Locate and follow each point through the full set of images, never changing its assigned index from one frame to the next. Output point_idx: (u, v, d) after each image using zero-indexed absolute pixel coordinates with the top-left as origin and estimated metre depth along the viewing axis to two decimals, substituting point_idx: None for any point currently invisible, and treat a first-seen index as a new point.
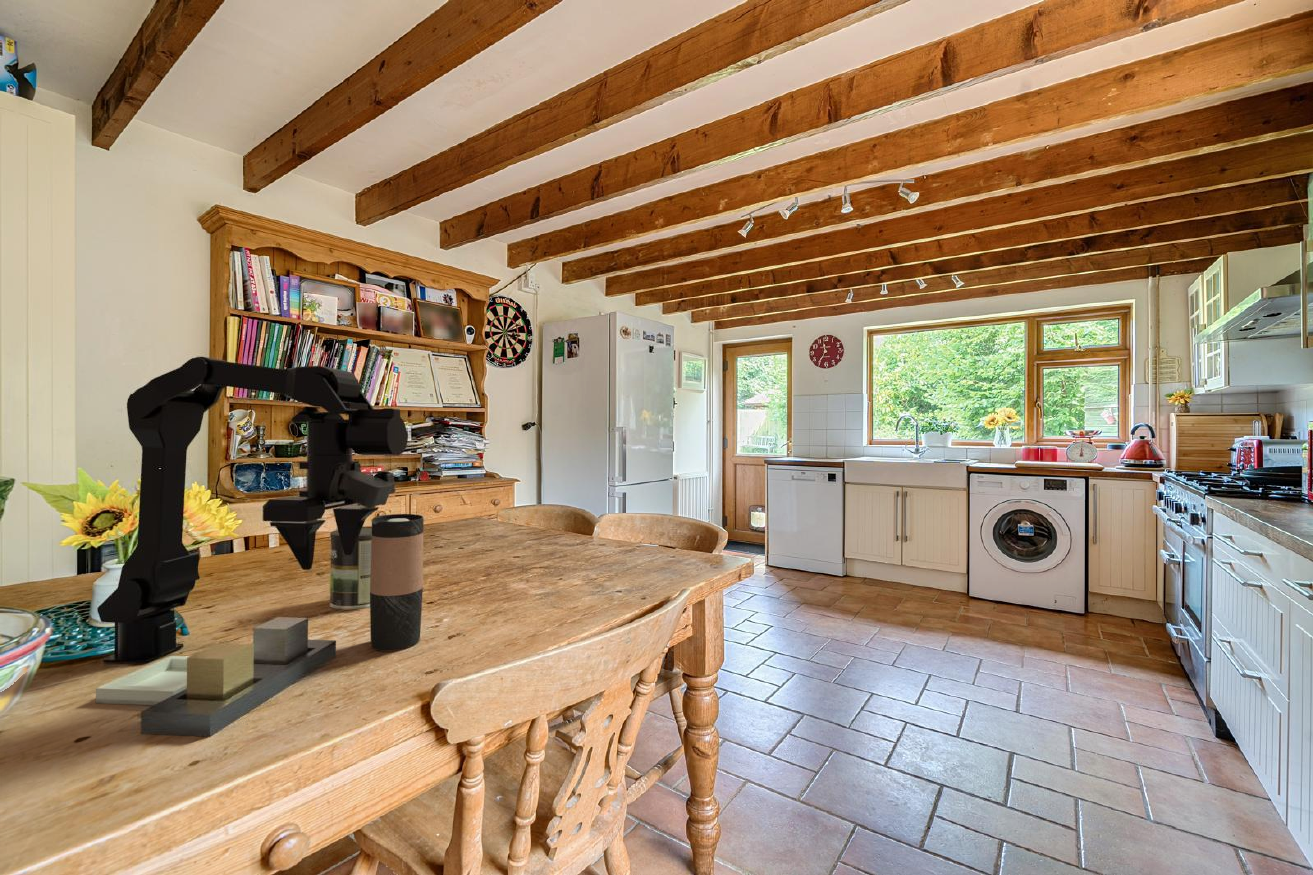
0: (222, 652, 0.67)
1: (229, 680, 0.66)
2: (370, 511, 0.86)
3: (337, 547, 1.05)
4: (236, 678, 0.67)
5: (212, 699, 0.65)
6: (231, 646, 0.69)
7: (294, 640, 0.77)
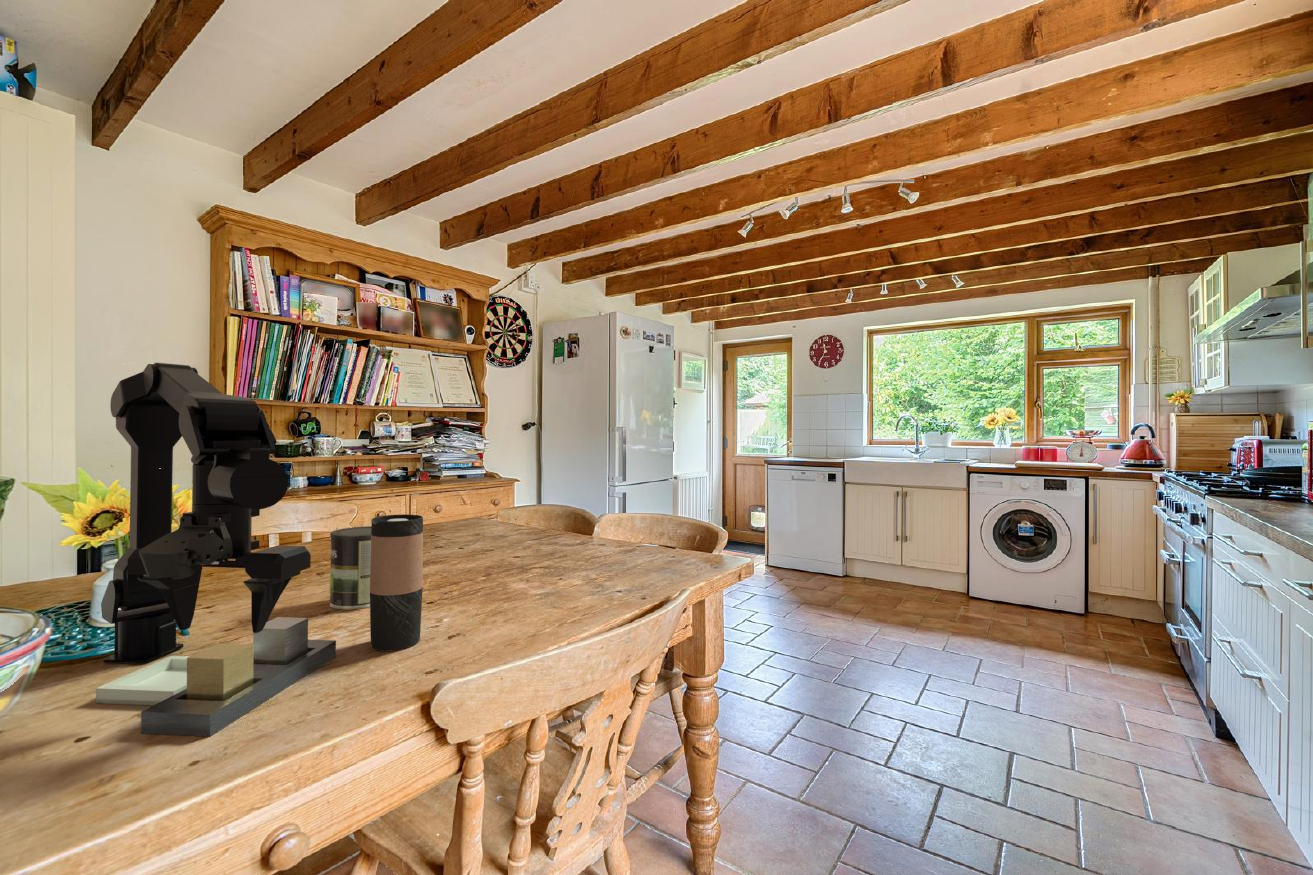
0: (222, 652, 0.67)
1: (229, 680, 0.66)
2: (248, 584, 0.64)
3: (337, 547, 1.05)
4: (236, 678, 0.67)
5: (212, 699, 0.65)
6: (231, 646, 0.69)
7: (294, 640, 0.77)
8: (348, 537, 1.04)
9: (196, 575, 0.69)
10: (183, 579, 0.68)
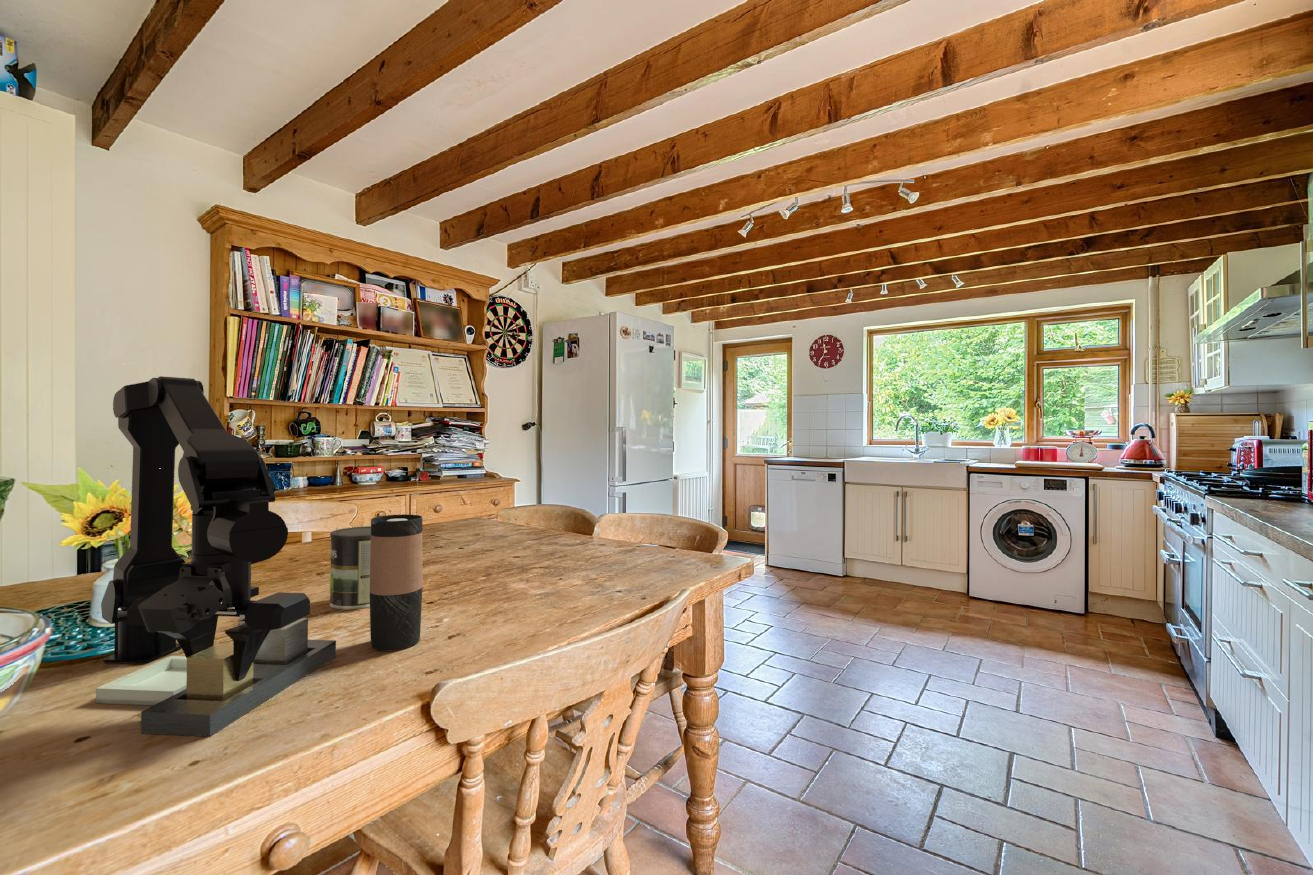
0: (222, 651, 0.67)
1: (229, 680, 0.66)
2: (230, 634, 0.64)
3: (337, 547, 1.05)
4: None
5: (212, 699, 0.65)
6: (231, 646, 0.69)
7: (294, 640, 0.77)
8: (348, 537, 1.04)
9: (212, 623, 0.69)
10: (200, 628, 0.67)
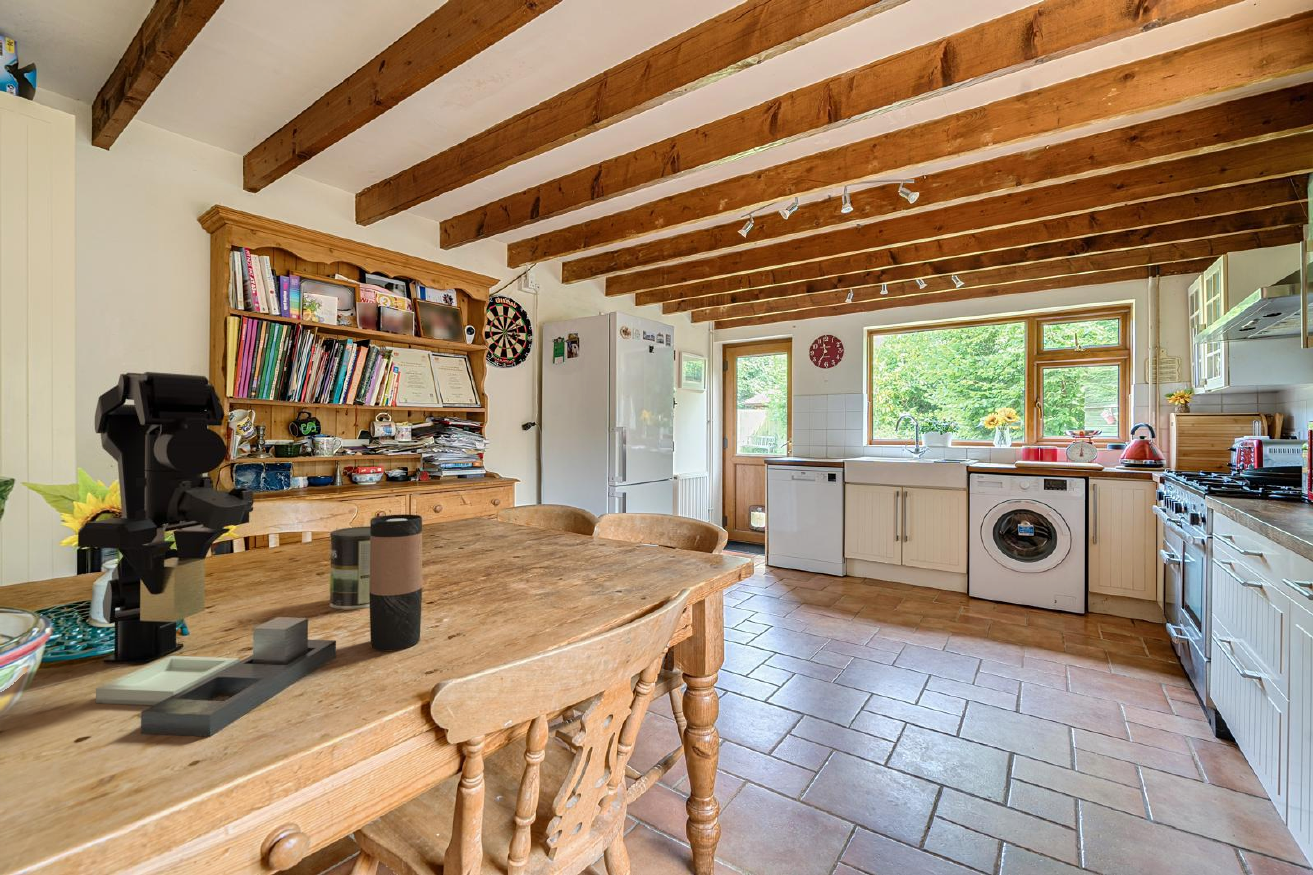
0: (178, 561, 0.73)
1: None
2: (216, 534, 0.76)
3: (337, 547, 1.05)
4: None
5: (196, 596, 0.74)
6: None
7: (294, 640, 0.77)
8: (348, 537, 1.04)
9: None
10: None
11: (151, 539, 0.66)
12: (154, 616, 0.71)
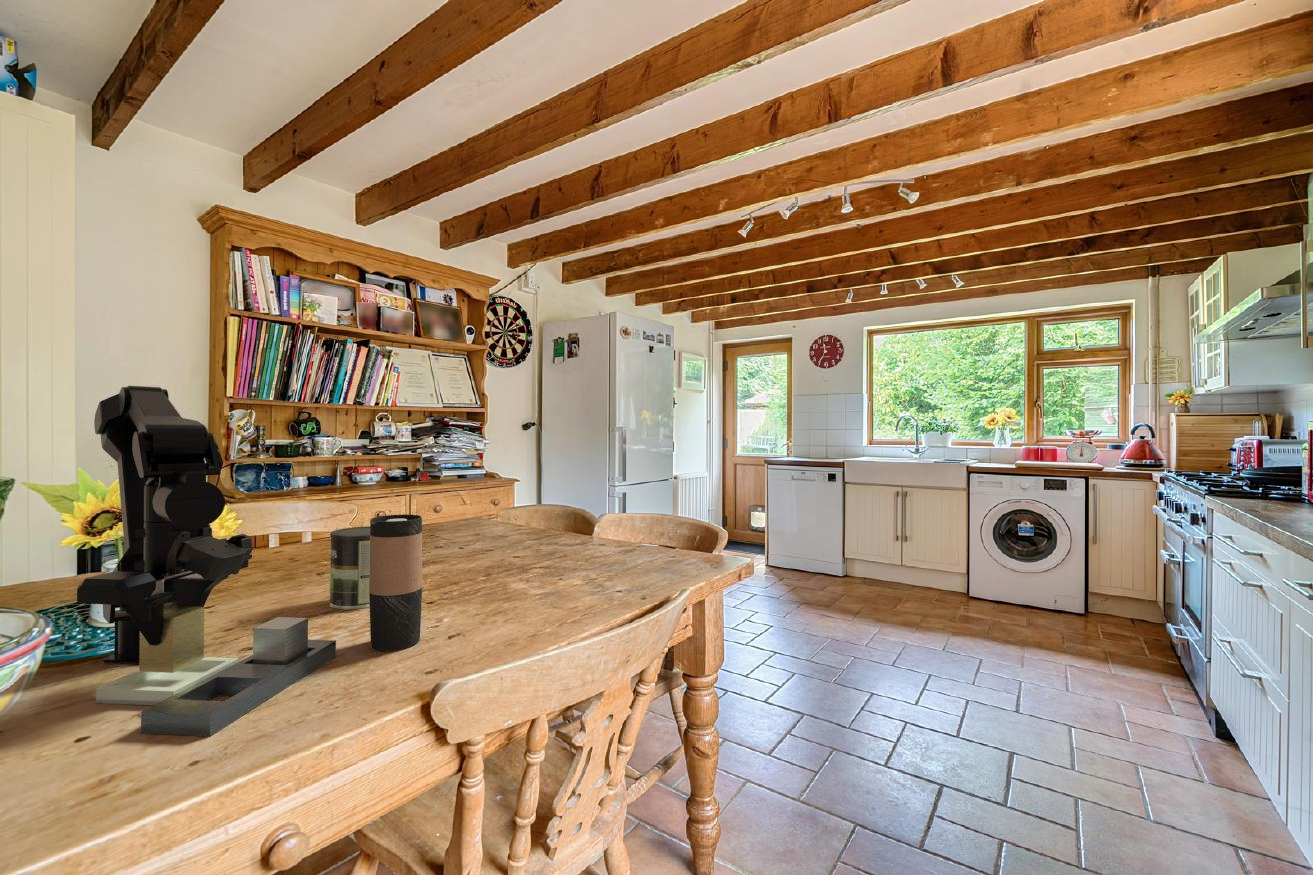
0: (177, 610, 0.73)
1: None
2: (215, 581, 0.76)
3: (337, 547, 1.05)
4: None
5: (195, 645, 0.74)
6: None
7: (294, 640, 0.77)
8: (348, 537, 1.04)
9: None
10: None
11: (150, 593, 0.66)
12: (153, 667, 0.71)
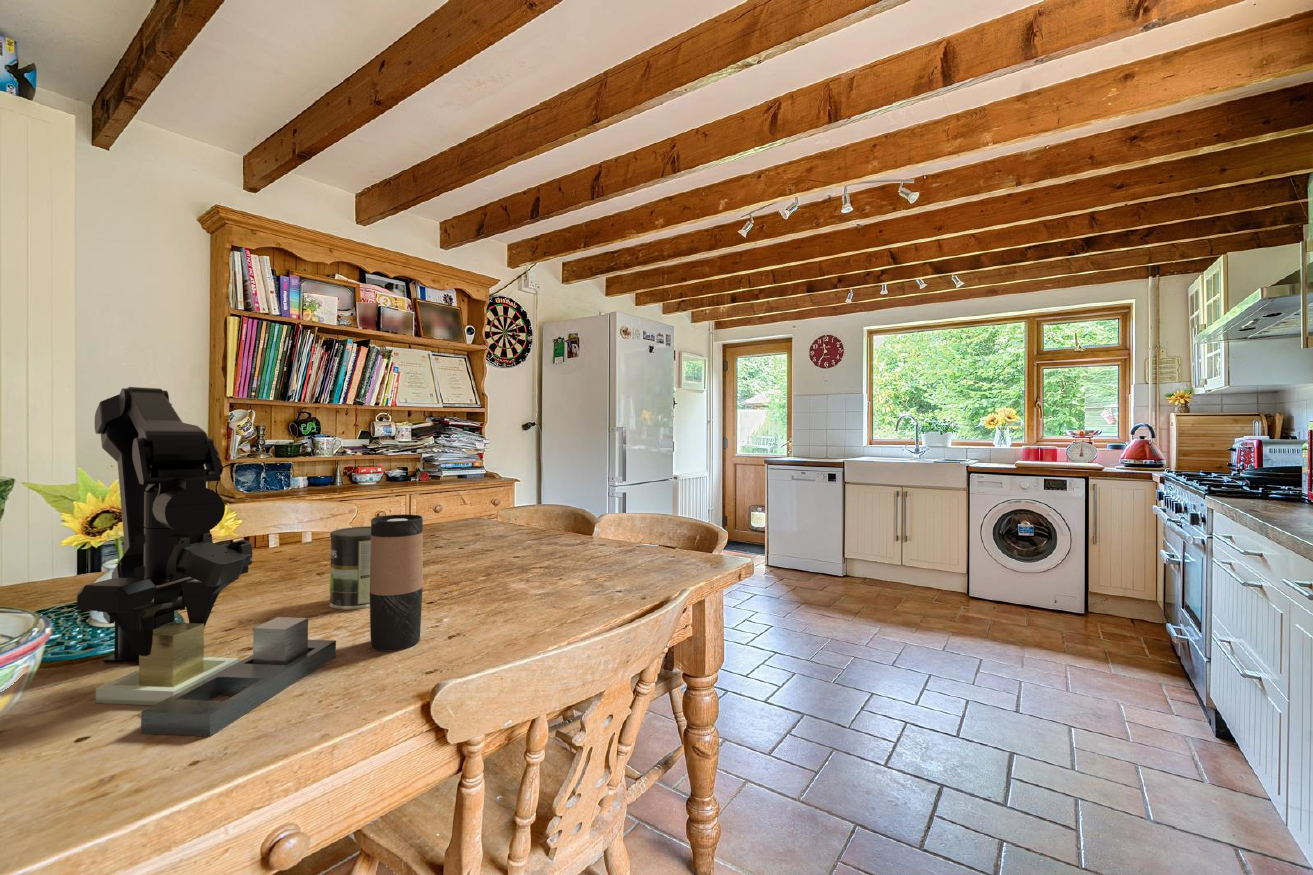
0: (177, 628, 0.73)
1: None
2: (223, 584, 0.77)
3: (337, 547, 1.05)
4: None
5: (195, 662, 0.74)
6: (162, 628, 0.73)
7: (294, 640, 0.77)
8: (348, 537, 1.04)
9: None
10: None
11: (150, 599, 0.66)
12: (153, 685, 0.71)
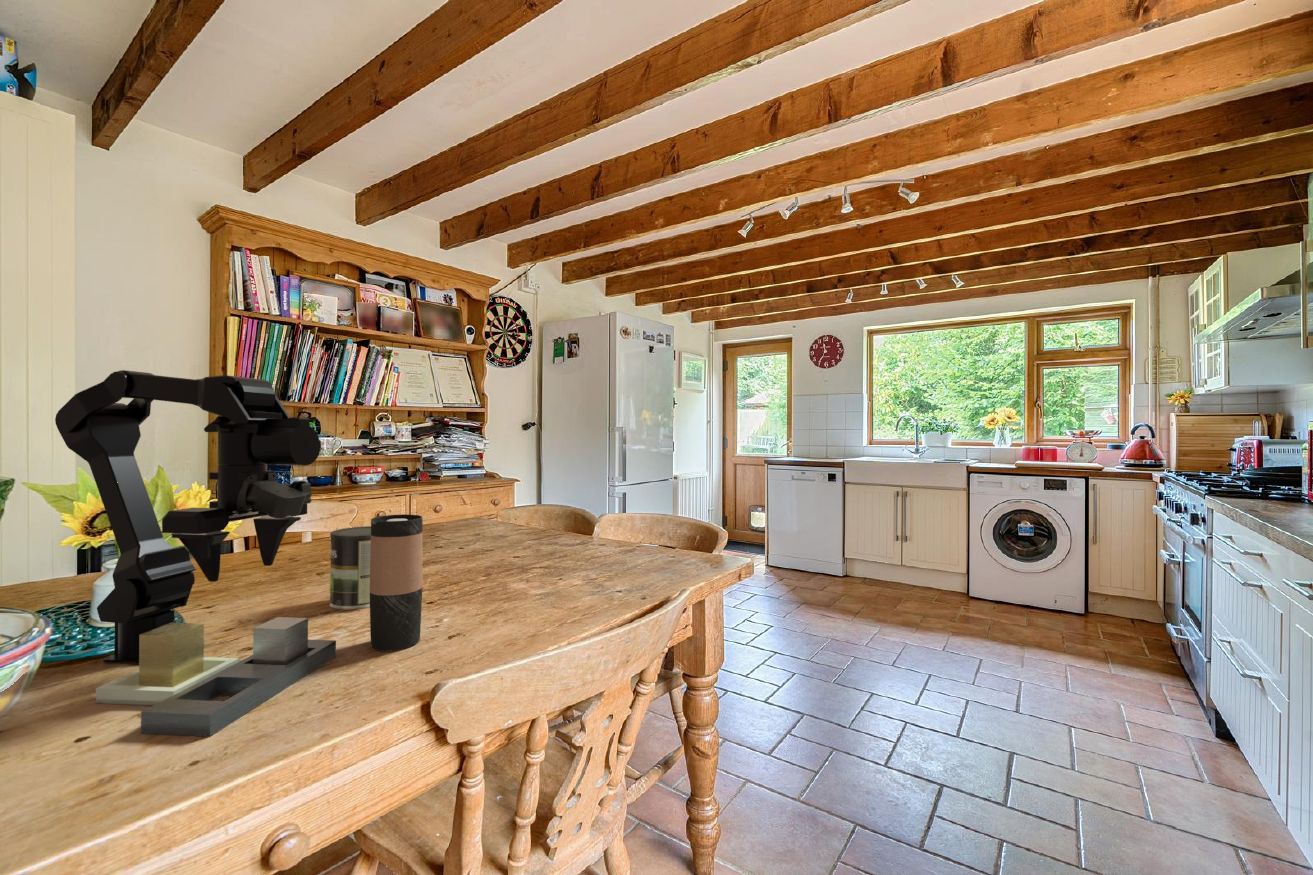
0: (177, 628, 0.73)
1: None
2: (290, 521, 0.85)
3: (337, 547, 1.05)
4: None
5: (195, 662, 0.74)
6: (162, 628, 0.73)
7: (294, 640, 0.77)
8: (348, 537, 1.04)
9: None
10: None
11: (224, 526, 0.73)
12: (153, 685, 0.71)
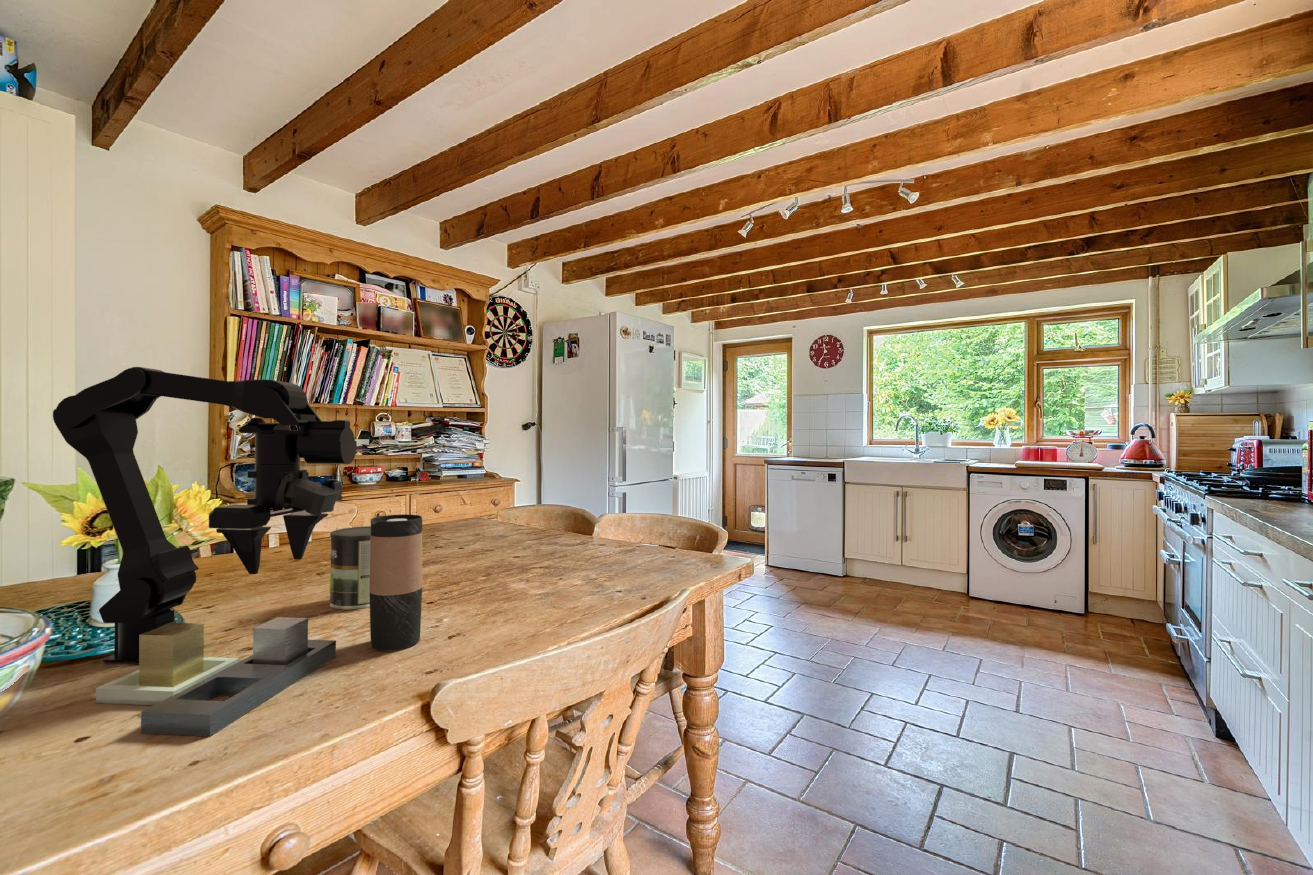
0: (177, 628, 0.73)
1: None
2: (319, 517, 0.90)
3: (337, 547, 1.05)
4: None
5: (195, 662, 0.74)
6: (162, 628, 0.73)
7: (294, 640, 0.77)
8: (348, 537, 1.04)
9: None
10: None
11: (266, 522, 0.78)
12: (153, 685, 0.71)
